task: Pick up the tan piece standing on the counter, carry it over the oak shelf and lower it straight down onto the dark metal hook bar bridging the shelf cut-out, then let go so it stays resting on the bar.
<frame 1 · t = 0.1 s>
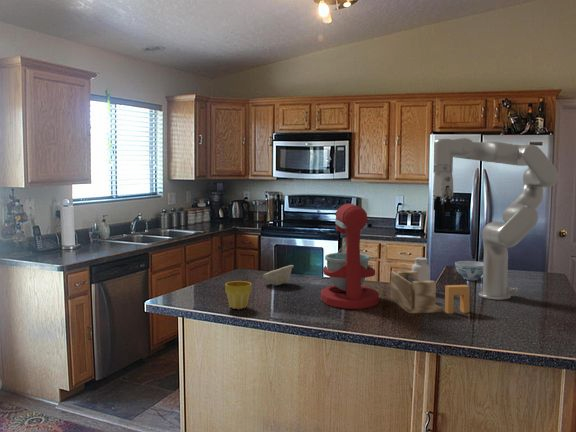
hand: (442, 211, 215), 37 cm above the countertop, tool pointing down, fingers open, 9 cm apart
bowl: (278, 285, 245), on the countertop
pill bottle: (420, 292, 230), on the countertop
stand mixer: (349, 300, 217), on the countertop
hook shelf: (414, 304, 208), on the countertop
plant pot: (238, 308, 205), on the countertop
chinaware: (470, 279, 256), on the countertop
tan piece: (456, 312, 198), on the countertop
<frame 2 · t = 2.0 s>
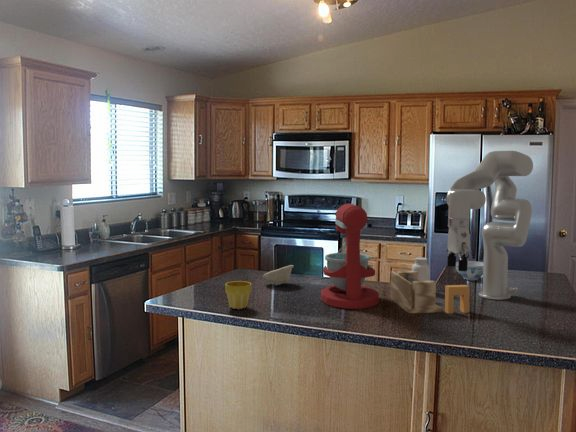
hand: (456, 268, 196), 17 cm above the countertop, tool pointing down, fingers open, 9 cm apart
nothing on the countertop moved.
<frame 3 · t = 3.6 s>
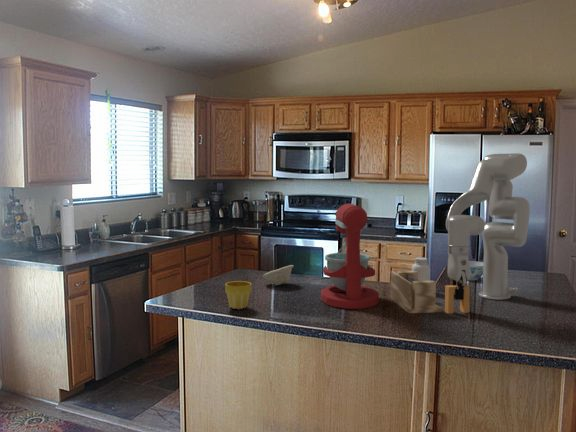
hand: (456, 297, 197), 6 cm above the countertop, tool pointing down, fingers closed on tan piece, 3 cm apart
tan piece: (456, 312, 198), on the countertop, touching gripper
everything else where it was.
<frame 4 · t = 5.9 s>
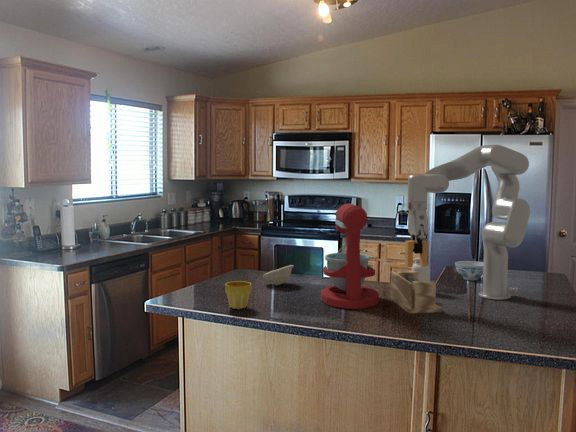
hand: (416, 252, 206), 21 cm above the countertop, tool pointing down, fingers closed on tan piece, 3 cm apart
tan piece: (416, 266, 207), point 16 cm above the countertop, touching gripper
everything else where it was.
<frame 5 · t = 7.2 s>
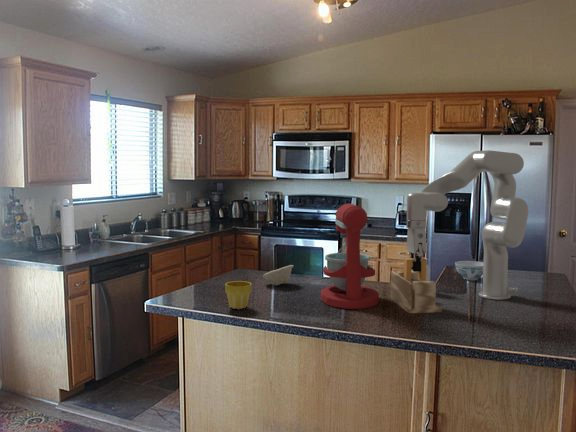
hand: (415, 270, 207), 14 cm above the countertop, tool pointing down, fingers closed on tan piece, 3 cm apart
tan piece: (414, 283, 207), point 9 cm above the countertop, touching gripper
everything else where it was.
when the fingers open (11 cm above the countertop, at t = 8.1 s): tan piece drops 2 cm, resting on hook shelf.
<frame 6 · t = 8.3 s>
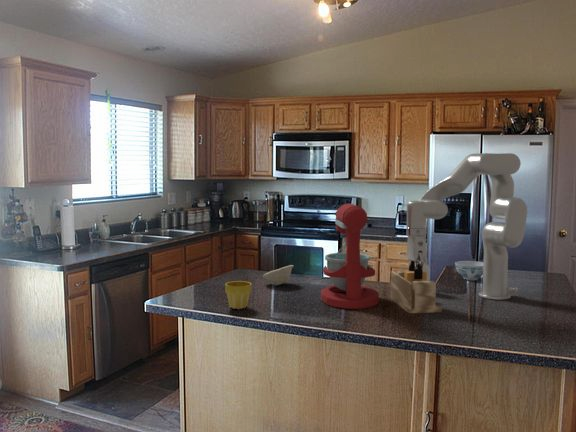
hand: (415, 277, 207), 11 cm above the countertop, tool pointing down, fingers open, 5 cm apart
tan piece: (415, 296, 208), point 3 cm above the countertop, touching hook shelf
everything else where it was.
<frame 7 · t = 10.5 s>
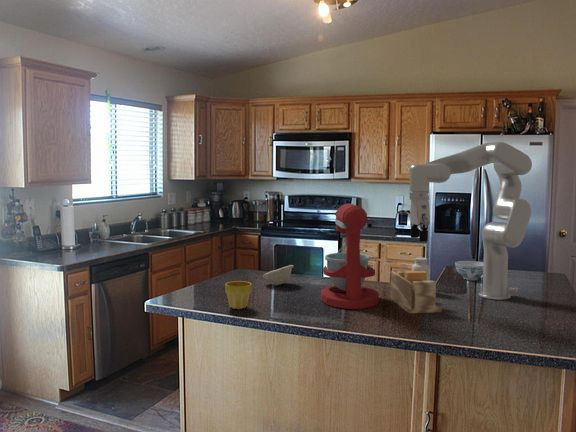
hand: (419, 239, 206), 26 cm above the countertop, tool pointing down, fingers open, 9 cm apart
nothing on the countertop moved.
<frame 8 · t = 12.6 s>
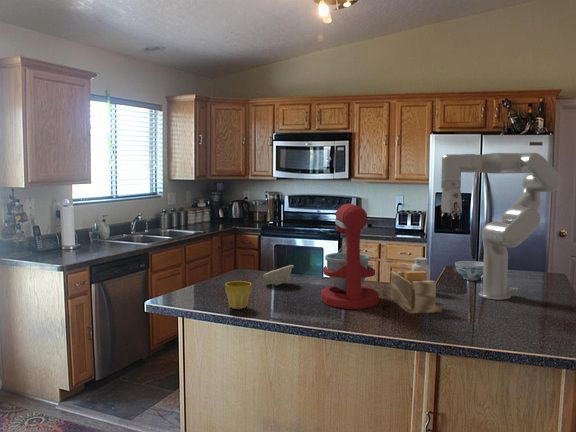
hand: (450, 227, 212), 30 cm above the countertop, tool pointing down, fingers open, 9 cm apart
nothing on the countertop moved.
at the end: tan piece inside the target area on the hook shelf (0.0 cm from its centre), point 3.3 cm above the hook shelf's base; tan piece tilted 0°; the gripper is holding nothing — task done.
